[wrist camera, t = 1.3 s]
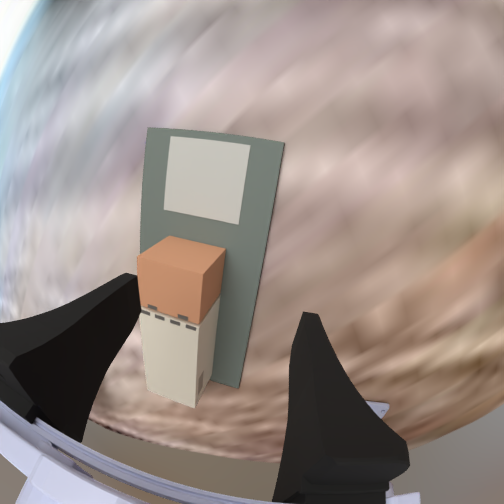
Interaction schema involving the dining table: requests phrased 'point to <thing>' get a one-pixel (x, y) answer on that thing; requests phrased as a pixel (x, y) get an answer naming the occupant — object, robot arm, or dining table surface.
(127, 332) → the robot arm
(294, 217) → the dining table surface
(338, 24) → the dining table surface
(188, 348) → the cream rectangular block
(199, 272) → the stub
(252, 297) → the mat
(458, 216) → the dining table surface
